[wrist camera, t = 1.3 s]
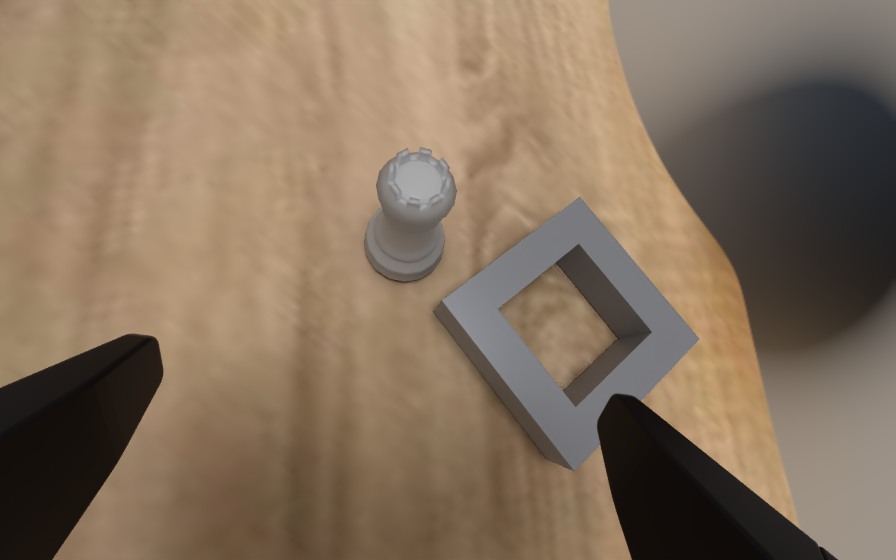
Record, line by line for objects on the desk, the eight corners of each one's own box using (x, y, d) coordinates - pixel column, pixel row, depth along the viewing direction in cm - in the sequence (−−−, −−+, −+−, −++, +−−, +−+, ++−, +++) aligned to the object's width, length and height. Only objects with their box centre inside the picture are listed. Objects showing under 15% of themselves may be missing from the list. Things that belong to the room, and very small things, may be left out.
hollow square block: (547, 459, 21) (574, 471, 18) (432, 311, 22) (442, 300, 19) (660, 344, 24) (699, 339, 21) (556, 218, 25) (579, 196, 22)
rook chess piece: (350, 264, 22) (339, 200, 14) (383, 198, 23) (389, 107, 16) (425, 296, 22) (452, 249, 15) (453, 229, 24) (491, 154, 16)
